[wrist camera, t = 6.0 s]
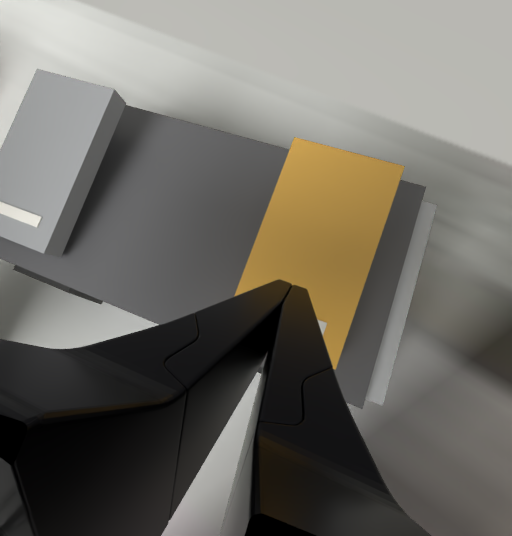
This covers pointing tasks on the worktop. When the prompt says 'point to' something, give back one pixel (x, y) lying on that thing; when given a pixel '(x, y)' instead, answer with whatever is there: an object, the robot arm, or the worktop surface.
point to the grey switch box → (215, 238)
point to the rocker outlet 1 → (53, 158)
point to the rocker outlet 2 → (324, 231)
